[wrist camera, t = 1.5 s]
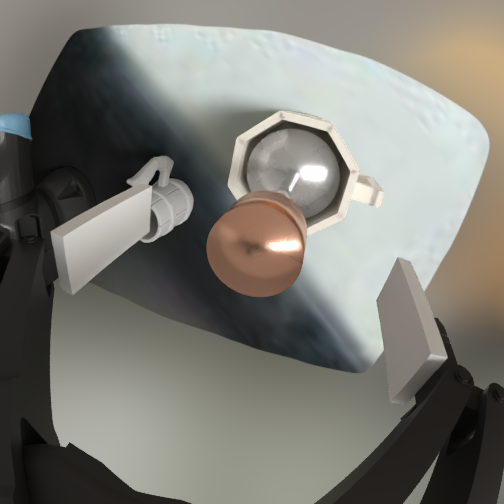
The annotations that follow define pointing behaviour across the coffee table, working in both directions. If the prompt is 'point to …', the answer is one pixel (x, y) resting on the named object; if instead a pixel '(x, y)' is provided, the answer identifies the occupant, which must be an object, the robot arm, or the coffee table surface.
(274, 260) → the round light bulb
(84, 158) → the coffee table surface
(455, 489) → the robot arm
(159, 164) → the mug
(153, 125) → the coffee table surface
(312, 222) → the octagonal white cup
